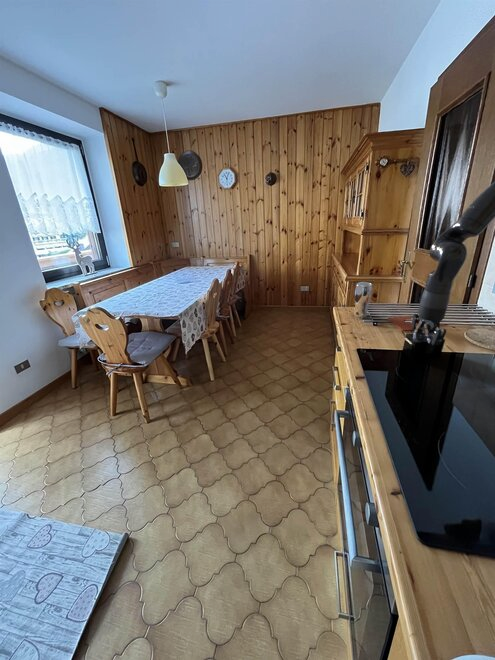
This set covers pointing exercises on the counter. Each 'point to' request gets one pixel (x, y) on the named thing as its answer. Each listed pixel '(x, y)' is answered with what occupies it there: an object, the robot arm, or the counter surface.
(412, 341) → the glossy black box
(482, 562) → the counter surface
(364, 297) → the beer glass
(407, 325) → the mat
